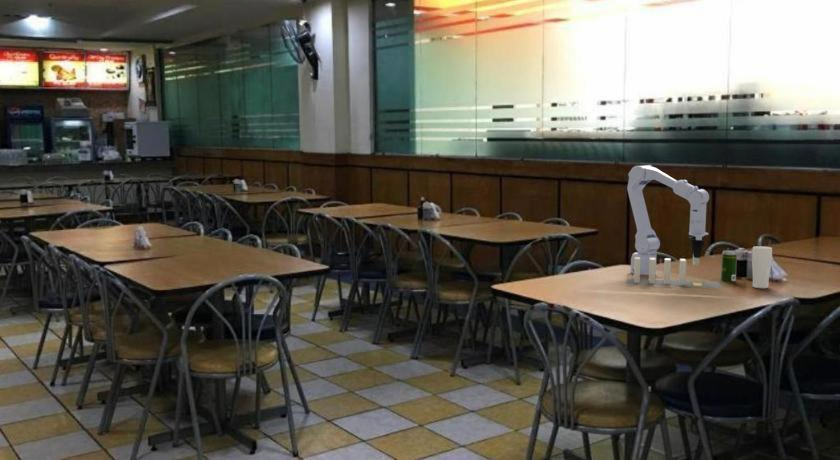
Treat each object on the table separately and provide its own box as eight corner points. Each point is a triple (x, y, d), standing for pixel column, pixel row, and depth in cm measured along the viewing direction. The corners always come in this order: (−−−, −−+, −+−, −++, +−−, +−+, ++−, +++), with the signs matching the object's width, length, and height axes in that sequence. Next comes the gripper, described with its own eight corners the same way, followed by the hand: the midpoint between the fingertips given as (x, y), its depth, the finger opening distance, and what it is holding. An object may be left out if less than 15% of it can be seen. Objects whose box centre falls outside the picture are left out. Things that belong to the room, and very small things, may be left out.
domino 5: (693, 264, 311) (694, 241, 310) (692, 263, 315) (693, 239, 314) (699, 265, 310) (700, 241, 309) (698, 263, 315) (699, 240, 314)
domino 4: (679, 284, 304) (680, 260, 303) (678, 282, 309) (679, 258, 308) (685, 284, 304) (686, 260, 303) (684, 282, 308) (685, 258, 307)
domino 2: (649, 283, 307) (650, 259, 306) (648, 280, 311) (649, 257, 310) (654, 283, 306) (655, 259, 305) (654, 281, 311) (654, 257, 310)
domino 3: (664, 283, 305) (665, 260, 304) (663, 281, 310) (664, 258, 309) (669, 284, 305) (670, 260, 304) (669, 281, 310) (670, 258, 308)
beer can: (738, 282, 313) (739, 251, 311) (730, 284, 309) (732, 252, 308) (725, 280, 317) (726, 249, 315) (717, 282, 314) (719, 251, 312)
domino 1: (634, 282, 308) (634, 258, 307) (633, 280, 313) (634, 257, 311) (639, 282, 307) (640, 259, 306) (639, 280, 312) (640, 257, 311)
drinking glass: (749, 288, 301) (751, 248, 300) (751, 285, 307) (753, 245, 306) (769, 289, 298) (771, 249, 296) (771, 286, 304) (773, 246, 302)
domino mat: (627, 285, 306) (627, 283, 306) (626, 280, 316) (626, 278, 316) (721, 290, 298) (721, 287, 298) (718, 284, 308) (718, 282, 308)
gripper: (710, 223, 303) (709, 259, 305) (706, 219, 317) (705, 254, 319) (691, 223, 305) (689, 259, 306) (687, 219, 319) (686, 253, 320)
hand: (696, 256), depth 313 cm, fingers closed on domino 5, 5 cm apart
